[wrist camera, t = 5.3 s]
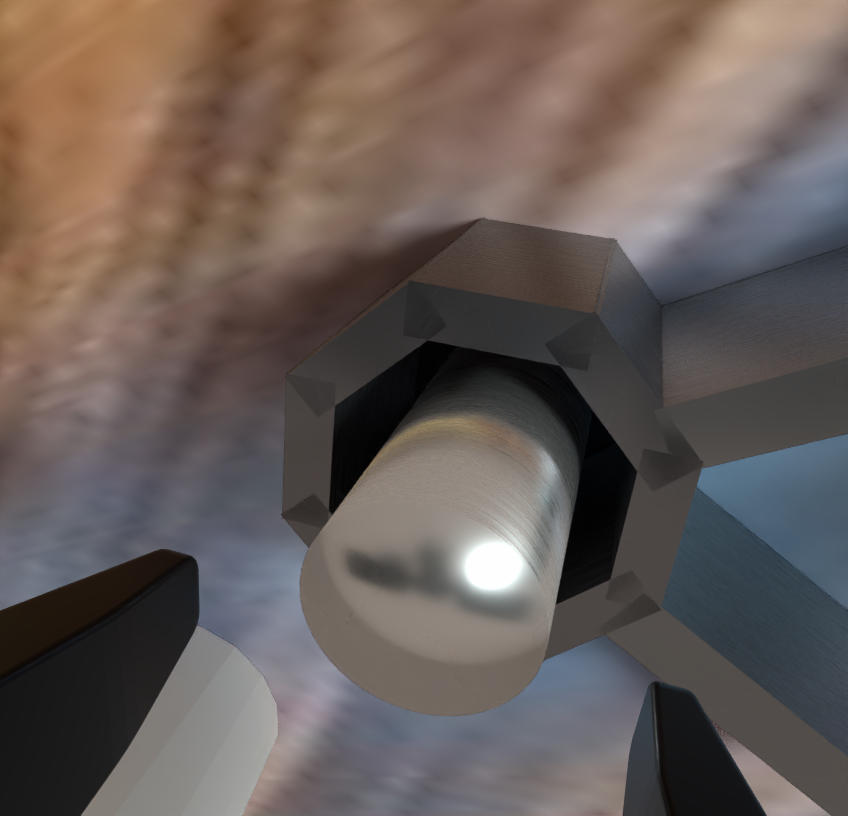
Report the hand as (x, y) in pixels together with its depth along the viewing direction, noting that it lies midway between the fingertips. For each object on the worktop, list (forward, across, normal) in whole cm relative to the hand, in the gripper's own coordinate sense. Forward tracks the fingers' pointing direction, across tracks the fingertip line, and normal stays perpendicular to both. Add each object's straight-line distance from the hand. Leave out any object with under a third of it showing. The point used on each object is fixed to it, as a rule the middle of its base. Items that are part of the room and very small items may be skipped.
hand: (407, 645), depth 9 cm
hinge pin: (+9, 0, 0) cm, 9 cm away
